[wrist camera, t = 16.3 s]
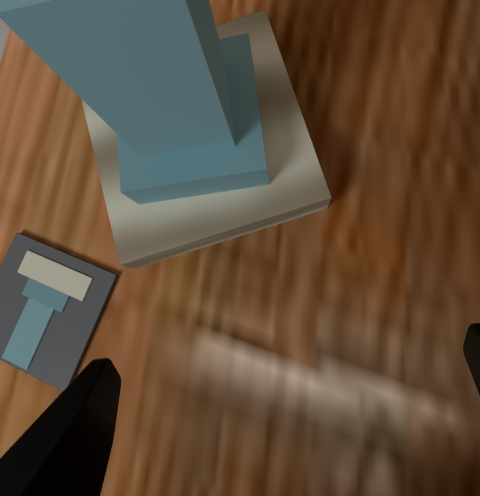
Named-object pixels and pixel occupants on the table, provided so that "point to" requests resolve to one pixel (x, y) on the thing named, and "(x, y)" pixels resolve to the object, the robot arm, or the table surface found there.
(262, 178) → the teal block
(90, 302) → the slate card
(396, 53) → the table surface
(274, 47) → the cream base block
